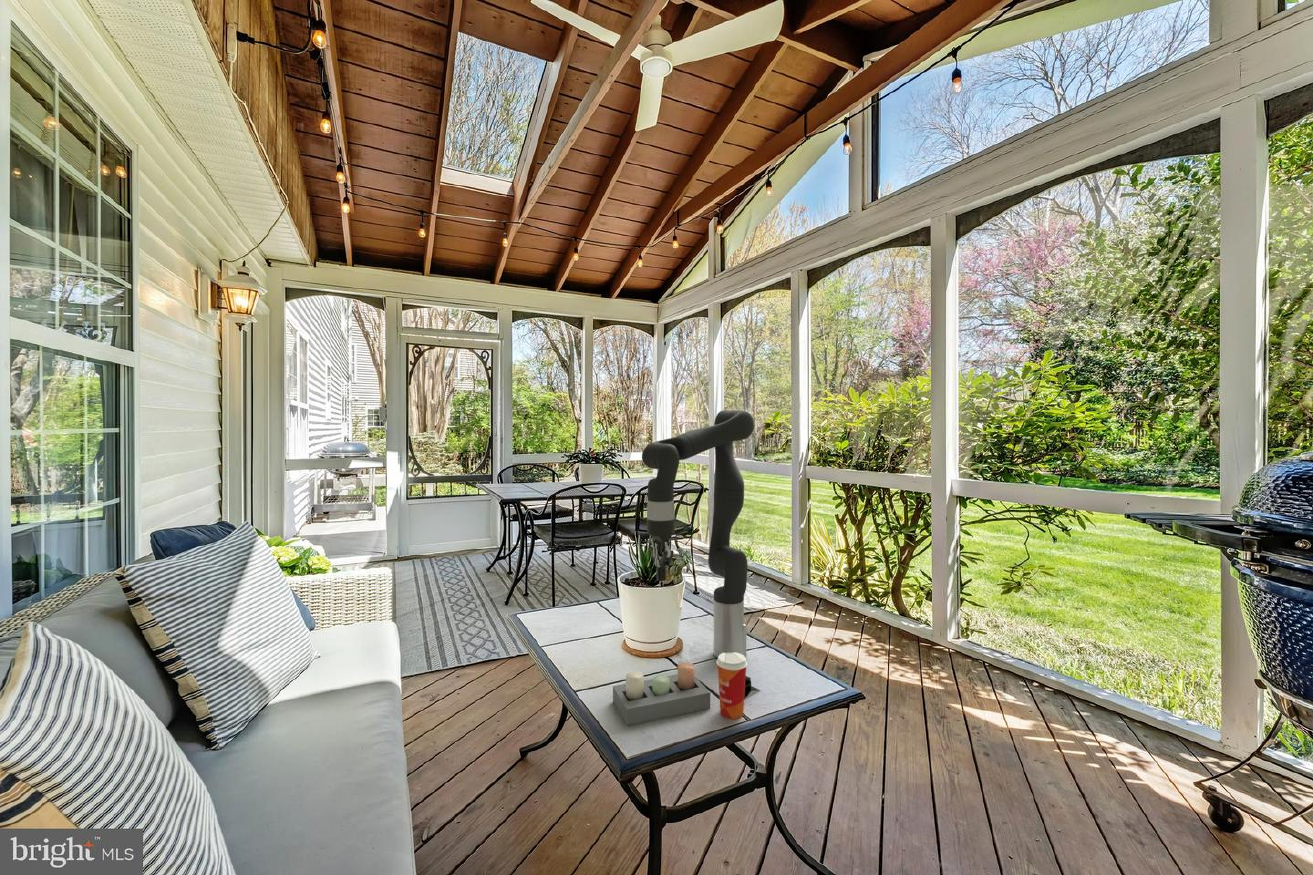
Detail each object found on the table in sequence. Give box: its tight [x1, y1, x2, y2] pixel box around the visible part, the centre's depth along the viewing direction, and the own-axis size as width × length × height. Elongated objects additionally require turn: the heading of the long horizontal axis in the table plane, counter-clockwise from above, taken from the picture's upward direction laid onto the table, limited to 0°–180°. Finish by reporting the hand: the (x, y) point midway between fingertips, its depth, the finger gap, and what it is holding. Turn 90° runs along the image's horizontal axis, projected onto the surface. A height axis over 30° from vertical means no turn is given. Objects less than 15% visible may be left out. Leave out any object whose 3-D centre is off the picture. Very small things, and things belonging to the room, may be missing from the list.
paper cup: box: [716, 652, 748, 720], centre depth 138 cm, size 8×8×14 cm
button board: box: [612, 673, 711, 727], centre depth 142 cm, size 22×12×4 cm, turn 111°
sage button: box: [651, 675, 670, 696], centre depth 142 cm, size 4×4×5 cm
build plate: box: [744, 675, 762, 701], centre depth 148 cm, size 12×7×5 cm, turn 133°
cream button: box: [625, 671, 644, 700], centre depth 139 cm, size 4×4×5 cm
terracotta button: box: [677, 662, 696, 690], centre depth 144 cm, size 4×4×5 cm
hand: (661, 579), depth 152 cm, fingers closed
